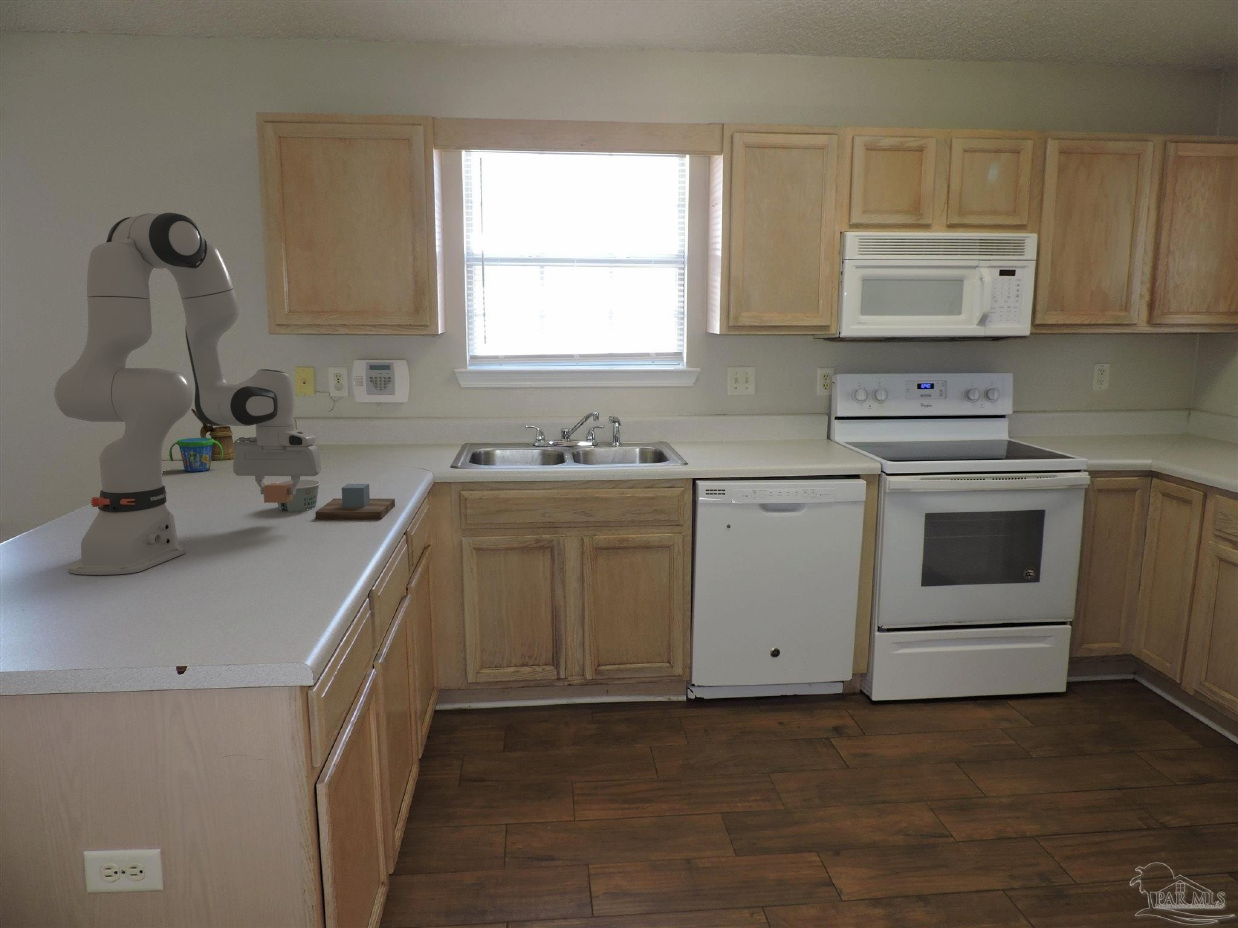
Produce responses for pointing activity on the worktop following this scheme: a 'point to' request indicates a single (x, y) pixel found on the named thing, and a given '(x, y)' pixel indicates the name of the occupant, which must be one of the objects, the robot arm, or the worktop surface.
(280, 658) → the worktop surface
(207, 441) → the snack cup
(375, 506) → the walnut board
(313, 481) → the food container
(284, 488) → the terracotta block
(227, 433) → the wooden mug
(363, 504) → the slate block
